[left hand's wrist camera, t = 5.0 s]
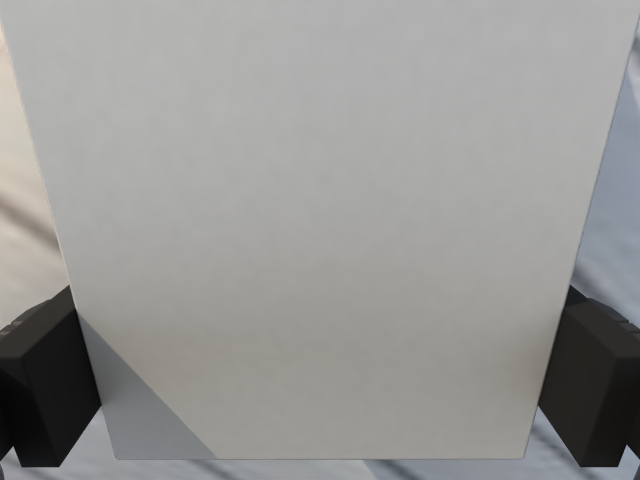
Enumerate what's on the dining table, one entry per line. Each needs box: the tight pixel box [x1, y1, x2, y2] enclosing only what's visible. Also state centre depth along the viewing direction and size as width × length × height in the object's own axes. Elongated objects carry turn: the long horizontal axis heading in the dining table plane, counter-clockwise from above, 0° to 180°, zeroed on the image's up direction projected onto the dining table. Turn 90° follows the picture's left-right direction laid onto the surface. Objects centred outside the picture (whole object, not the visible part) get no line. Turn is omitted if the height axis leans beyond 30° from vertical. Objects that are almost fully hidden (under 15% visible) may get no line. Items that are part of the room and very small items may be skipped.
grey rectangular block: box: [0, 0, 640, 460], centre depth 11 cm, size 20×10×11 cm, turn 0°
